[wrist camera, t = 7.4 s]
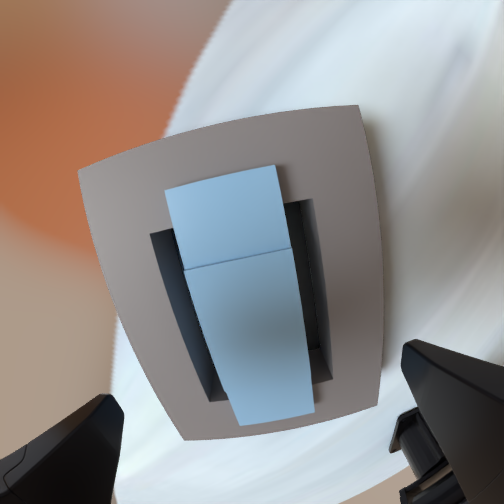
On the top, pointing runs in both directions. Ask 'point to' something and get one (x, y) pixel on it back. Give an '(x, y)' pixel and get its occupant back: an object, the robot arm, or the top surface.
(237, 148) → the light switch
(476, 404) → the robot arm
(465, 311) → the top surface
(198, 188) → the light blue bar
